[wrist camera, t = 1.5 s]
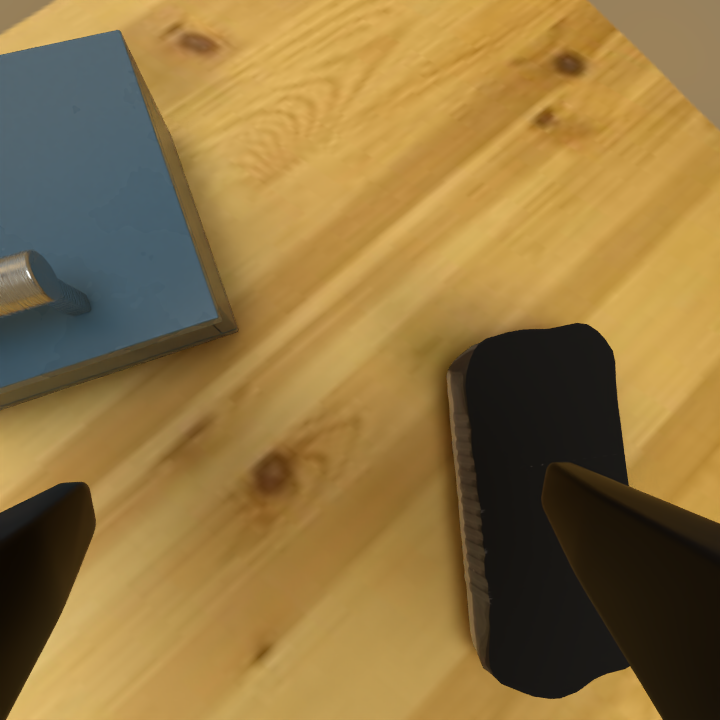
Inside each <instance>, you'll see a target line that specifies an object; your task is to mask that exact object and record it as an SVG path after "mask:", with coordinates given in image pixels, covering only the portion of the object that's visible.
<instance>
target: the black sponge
mask: <svg viewBox="0 0 720 720" xmlns="http://www.w3.org/2000/svg"><path fill="white" fill-rule="evenodd" d="M446 378H447V384H448V390H447V391H448V399H449V409H450V424H451V433H452V447H453V454H454V466H455V472H456V483H457V495H458V500H459V505H458V508H459V514H460V520H459V521H460V530H461V538H462V543H463V545H462V550H463V557H464V561H463V563H464V567H465V574H464V577H465V581H466V585H467V600H468V613H469V623H470V632H471V637H472V641H473V645H474V647H475V649H476V651H477V653H478V656H479V659H480V661H481V664H482V666H483V668H484V669H485V670H487V671H488V672H490V673H491V674H492V675H493V676H494V677H495V678H496V679H497V680H498V681H499V682H500V683H501V684H503V685H506V686H508V687H510V688H513V689H515V690H518V691H520V692H523V693H526V694H529V695H531V696H534V697H541V698H548V699H557V698H562V697H565V696H568V695H570V694H573V693H576V692H578V691H579V690H580V689H582V688H583V687H584V686H586V685H587V684H588V683H590V682H591V681H593V680H594V679H596V678H598V677H600V676H602V675H604V674H607V673H611V672H615V671H619V670H623V669H626V668H627V667H629V666H630V665H629V663H628V661H627V660H626V658H625V656H624V655H623V653H622V651H621V650H620V648H619V646H618V645H617V643H616V641H615V640H614V638H613V637H612V635H611V633H610V632H609V630H608V628H607V627H606V625H605V623H604V622H603V620H602V618H601V617H600V615H599V613H598V612H597V610H596V608H595V607H594V605H593V604H592V602H591V600H590V599H589V597H588V595H587V594H586V592H585V590H584V589H583V587H582V585H581V584H580V582H579V580H578V578H577V577H576V575H575V573H574V571H573V569H572V567H571V565H570V563H569V561H568V559H567V557H566V555H565V553H564V551H563V549H562V547H561V544H560V542H559V540H558V538H557V536H556V534H555V532H554V530H553V528H552V526H551V524H550V522H549V520H548V517H547V515H546V513H545V511H544V509H543V506H542V501H541V497H542V490H543V485H544V480H545V474H546V469H547V467H548V465H549V464H551V463H554V462H571V463H573V464H576V465H578V466H581V467H583V468H585V469H588V470H590V471H593V472H595V473H598V474H600V475H602V476H605V477H607V478H610V479H612V480H615V481H617V482H619V483H622V484H624V485H627V486H629V484H628V477H627V469H626V462H625V454H624V446H623V438H622V430H621V423H620V416H619V409H618V400H617V388H616V371H615V359H614V355H613V350H612V349H611V347H610V346H609V344H608V343H607V341H606V340H605V339H604V337H603V336H602V335H601V334H600V333H599V332H598V331H597V330H595V329H594V328H592V327H591V326H589V325H588V324H581V323H574V324H570V325H565V326H560V327H556V328H551V329H528V330H518V331H513V332H507V333H504V334H500V335H497V336H494V337H490V338H487V339H485V340H484V341H482V342H481V343H478V344H475V345H473V346H471V347H470V348H469V349H467V350H466V351H465V352H463V353H462V354H461V355H460V356H459V357H457V358H456V359H455V360H454V361H453V363H452V364H451V366H450V367H449V369H448V372H447V376H446Z"/></svg>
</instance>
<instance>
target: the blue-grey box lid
mask: <svg viewBox="0 0 720 720" xmlns="http://www.w3.org/2000/svg"><path fill="white" fill-rule="evenodd" d="M220 322H222V318H221V315H220V312H219V310H218V307H217V304H216V301H215V298H214V295H213V292H212V289H211V286H210V284H209V281H208V278H207V275H206V272H205V269H204V266H203V263H202V260H201V257H200V255H199V252H198V249H197V246H196V243H195V240H194V237H193V234H192V231H191V228H190V226H189V223H188V220H187V217H186V214H185V211H184V208H183V205H182V202H181V199H180V197H179V194H178V191H177V188H176V185H175V182H174V179H173V176H172V173H171V171H170V168H169V165H168V162H167V159H166V156H165V153H164V150H163V147H162V144H161V142H160V139H159V136H158V133H157V130H156V127H155V124H154V121H153V118H152V115H151V113H150V110H149V107H148V104H147V101H146V98H145V95H144V92H143V89H142V87H141V84H140V81H139V78H138V75H137V72H136V69H135V66H134V63H133V60H132V58H131V55H130V52H129V49H128V46H127V44H126V42H125V40H124V38H123V36H122V34H121V32H120V30H116V31H111V32H106V33H101V34H97V35H92V36H87V37H83V38H78V39H73V40H68V41H64V42H59V43H54V44H50V45H45V46H40V47H35V48H31V49H26V50H21V51H17V52H12V53H7V54H3V55H0V394H1V393H4V392H7V391H11V390H14V389H17V388H20V387H23V386H26V385H29V384H32V383H35V382H38V381H41V380H44V379H48V378H51V377H54V376H57V375H60V374H63V373H66V372H69V371H72V370H75V369H78V368H81V367H85V366H88V365H91V364H94V363H97V362H100V361H103V360H106V359H109V358H112V357H115V356H118V355H122V354H125V353H128V352H131V351H134V350H137V349H140V348H143V347H146V346H149V345H152V344H155V343H159V342H162V341H165V340H168V339H171V338H174V337H177V336H180V335H183V334H186V333H189V332H192V331H196V330H199V329H202V328H205V327H208V326H211V325H214V324H217V323H220Z"/></svg>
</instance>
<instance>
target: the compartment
mask: <svg viewBox="0 0 720 720" xmlns="http://www.w3.org/2000/svg"><path fill="white" fill-rule="evenodd" d="M129 52H130V50H129ZM130 55H131V58H132V60H133V63H134V66H135V69H136V72H137V75H138V78H139V81H140V84H141V87H142V89H143V92H144V95H145V98H146V101H147V104H148V107H149V110H150V113H151V115H152V118H153V121H154V124H155V127H156V130H157V133H158V136H159V139H160V142H161V144H162V147H163V150H164V153H165V156H166V159H167V162H168V165H169V168H170V171H171V173H172V176H173V179H174V182H175V185H176V188H177V191H178V194H179V197H180V199H181V202H182V205H183V208H184V211H185V214H186V217H187V220H188V223H189V226H190V228H191V231H192V234H193V237H194V240H195V243H196V246H197V249H198V252H199V255H200V257H201V260H202V263H203V266H204V269H205V272H206V275H207V278H208V281H209V284H210V286H211V289H212V292H213V295H214V298H215V301H216V304H217V307H218V310H219V312H220V315H221V318H222V322H220V323H217V324H214V325H211V326H208V327H205V328H202V329H199V330H196V331H192V332H189V333H186V334H183V335H180V336H177V337H174V338H171V339H168V340H165V341H162V342H159V343H155V344H152V345H149V346H146V347H143V348H140V349H137V350H134V351H131V352H128V353H125V354H122V355H118V356H115V357H112V358H109V359H106V360H103V361H100V362H97V363H94V364H91V365H88V366H85V367H81V368H78V369H75V370H72V371H69V372H66V373H63V374H60V375H57V376H54V377H51V378H48V379H44V380H41V381H38V382H35V383H32V384H29V385H26V386H23V387H20V388H17V389H14V390H11V391H7V392H4V393H1V394H0V410H2V409H5V408H8V407H11V406H14V405H17V404H20V403H23V402H26V401H29V400H32V399H35V398H38V397H41V396H44V395H48V394H51V393H54V392H57V391H60V390H63V389H66V388H69V387H72V386H75V385H78V384H81V383H84V382H87V381H90V380H93V379H96V378H99V377H102V376H105V375H108V374H111V373H114V372H117V371H120V370H123V369H126V368H129V367H132V366H135V365H138V364H142V363H145V362H148V361H151V360H154V359H157V358H160V357H163V356H166V355H169V354H172V353H175V352H178V351H181V350H184V349H187V348H190V347H193V346H196V345H199V344H202V343H205V342H208V341H211V340H214V339H217V338H220V337H223V336H226V335H229V334H233V333H236V332H238V327H237V324H236V321H235V318H234V315H233V312H232V309H231V307H230V304H229V301H228V298H227V295H226V292H225V289H224V286H223V284H222V281H221V278H220V275H219V272H218V269H217V266H216V263H215V261H214V258H213V255H212V252H211V249H210V246H209V243H208V240H207V238H206V235H205V232H204V229H203V226H202V223H201V220H200V217H199V215H198V212H197V209H196V206H195V203H194V200H193V197H192V194H191V192H190V189H189V186H188V183H187V180H186V177H185V174H184V171H183V169H182V166H181V163H180V160H179V157H178V154H177V151H176V148H175V146H174V143H173V140H172V137H171V134H170V132H169V130H168V128H167V126H166V124H165V122H164V120H163V118H162V116H161V114H160V112H159V110H158V108H157V106H156V104H155V102H154V99H153V97H152V95H151V93H150V91H149V89H148V87H147V85H146V83H145V81H144V79H143V77H142V75H141V73H140V71H139V69H138V67H137V65H136V62H135V60H134V58H133V56H132V54H131V52H130Z"/></svg>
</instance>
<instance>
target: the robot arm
mask: <svg viewBox="0 0 720 720" xmlns="http://www.w3.org/2000/svg"><path fill="white" fill-rule="evenodd" d="M541 501H542V506H543V509H544V511H545V513H546V515H547V517H548V520H549V522H550V524H551V526H552V528H553V530H554V532H555V534H556V536H557V538H558V540H559V542H560V544H561V547H562V549H563V551H564V553H565V555H566V557H567V559H568V561H569V563H570V565H571V567H572V569H573V571H574V573H575V575H576V577H577V578H578V580H579V582H580V584H581V585H582V587H583V589H584V590H585V592H586V594H587V595H588V597H589V599H590V600H591V602H592V604H593V605H594V607H595V608H596V610H597V612H598V613H599V615H600V617H601V618H602V620H603V622H604V623H605V625H606V627H607V628H608V630H609V632H610V633H611V635H612V637H613V638H614V640H615V641H616V643H617V645H618V646H619V648H620V650H621V651H622V653H623V655H624V656H625V658H626V660H627V661H628V663H629V665H630V666H631V668H632V670H633V671H634V673H635V674H636V676H637V678H638V679H639V681H640V683H641V684H642V686H643V688H644V689H645V691H646V693H647V694H648V696H649V698H650V699H651V701H652V703H653V704H654V706H655V707H656V709H657V711H658V712H659V714H660V716H661V717H662V719H663V720H720V524H719V523H717V522H714V521H712V520H709V519H707V518H704V517H702V516H700V515H697V514H695V513H692V512H690V511H687V510H685V509H683V508H680V507H678V506H675V505H673V504H670V503H668V502H666V501H663V500H661V499H658V498H656V497H653V496H651V495H649V494H646V493H644V492H641V491H639V490H636V489H634V488H632V487H629V486H627V485H624V484H622V483H619V482H617V481H615V480H612V479H610V478H607V477H605V476H602V475H600V474H598V473H595V472H593V471H590V470H588V469H585V468H583V467H581V466H578V465H576V464H573V463H571V462H554V463H551V464H549V465H548V467H547V469H546V474H545V480H544V485H543V490H542V497H541ZM95 526H96V519H95V513H94V508H93V503H92V498H91V493H90V489H89V486H88V485H87V484H86V483H84V482H69V483H60V484H58V485H56V486H54V487H52V488H50V489H48V490H46V491H44V492H42V493H40V494H38V495H36V496H34V497H32V498H30V499H28V500H26V501H24V502H21V503H19V504H17V505H15V506H13V507H11V508H9V509H7V510H5V511H3V512H1V513H0V720H6V719H7V717H8V715H9V713H10V711H11V709H12V707H13V705H14V703H15V702H16V700H17V698H18V696H19V694H20V692H21V690H22V688H23V686H24V684H25V682H26V681H27V679H28V677H29V675H30V673H31V671H32V669H33V667H34V665H35V663H36V662H37V660H38V658H39V656H40V654H41V652H42V650H43V648H44V646H45V644H46V642H47V641H48V639H49V637H50V635H51V633H52V631H53V629H54V627H55V625H56V623H57V621H58V619H59V617H60V615H61V613H62V611H63V608H64V606H65V604H66V602H67V599H68V597H69V594H70V592H71V589H72V587H73V584H74V582H75V579H76V577H77V574H78V572H79V569H80V567H81V564H82V562H83V559H84V557H85V554H86V552H87V549H88V547H89V544H90V542H91V539H92V537H93V534H94V531H95Z"/></svg>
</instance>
